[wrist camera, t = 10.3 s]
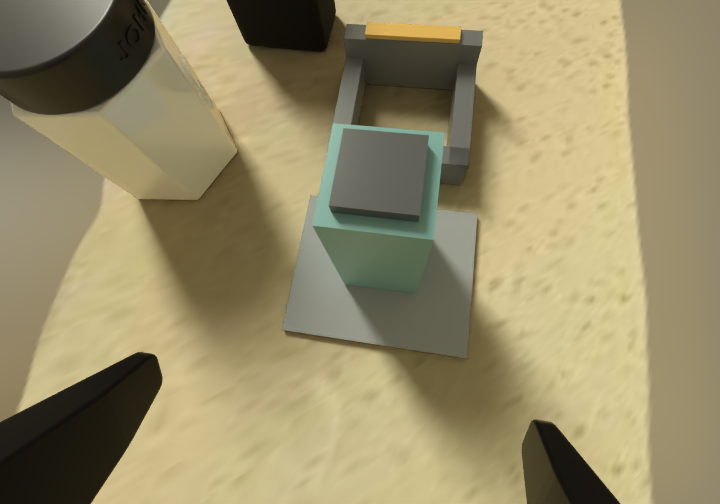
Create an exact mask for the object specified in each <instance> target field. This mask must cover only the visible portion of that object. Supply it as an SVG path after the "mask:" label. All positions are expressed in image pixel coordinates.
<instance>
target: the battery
mask: <svg viewBox="0 0 720 504" xmlns="http://www.w3.org/2000/svg"><path fill="white" fill-rule="evenodd" d="M227 2H228V5H229V7H230V9H231V11H232V14H233V16H234V18H235V20H236V23H237V25H238V27H239V29H240V32H241V34H242V36H243V38H244V40H245V42H246V43H247V44H249V45H255V46H266V47H278V48H289V49H300V50H312V51H324V50H325V49H326V47H327V44H328V40H329V36H330V33H331V29H332V25H333V21H334V18H335V14H336V9H335V2H334V0H227Z"/></svg>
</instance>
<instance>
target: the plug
mask: <svg viewBox="0 0 720 504" xmlns="http://www.w3.org/2000/svg"><path fill="white" fill-rule="evenodd" d="M444 135H445V132H433V131H421V130H408V129H396V128H384V127H372V126H360V125H348V124H336V123H333V126H332V131H331V136H330V140H329V145H328V150H327V155H326V160H325V165H324V170H323V175H322V180H321V185H320V190H319V195H318V200H317V205H316V210H315V214H314V219H313V224H312V226H313V228H314V230H315V232H316V233H317V235H318V237H319V239H320V241H321V242H322V244H323V246H324V248H325V250H326V252H327V253H328V255H329V257H330V259H331V261H332V263H333V264H334V266H335V268H336V270H337V272H338V273H339V275H340V277H341V279H342V281H343V283H344V284H345V285H352V286H360V287H367V288H374V289H382V290H389V291H397V292H404V293H411V294H416V292H417V289H418V286H419V283H420V280H421V277H422V274H423V271H424V268H425V265H426V262H427V259H428V256H429V253H430V250H431V247H432V244H433V241H434V233H435V224H436V214H437V204H438V194H439V184H440V175H441V165H442V155H443V145H444Z"/></svg>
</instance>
